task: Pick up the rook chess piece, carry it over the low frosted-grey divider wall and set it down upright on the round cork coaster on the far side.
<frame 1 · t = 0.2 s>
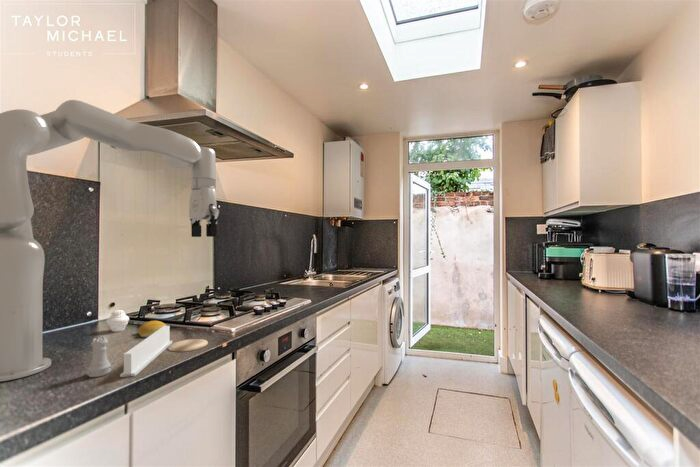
hand: (203, 236, 111), 31 cm above the worktop, tool pointing down, fingers open, 9 cm apart
rook chess piece: (99, 374, 76), on the worktop
cork coaster: (188, 345, 95), on the worktop
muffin: (118, 331, 111), on the worktop
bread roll: (153, 334, 108), on the worktop
divider wall: (149, 357, 86), on the worktop
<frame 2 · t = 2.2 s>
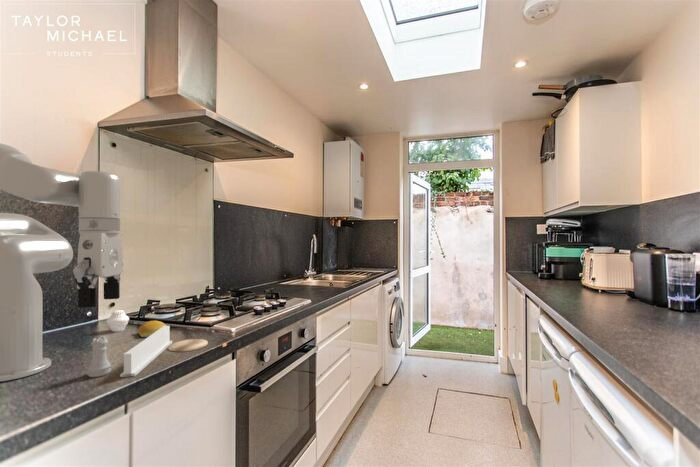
hand: (100, 302, 76), 16 cm above the worktop, tool pointing down, fingers open, 9 cm apart
nothing on the worktop moved.
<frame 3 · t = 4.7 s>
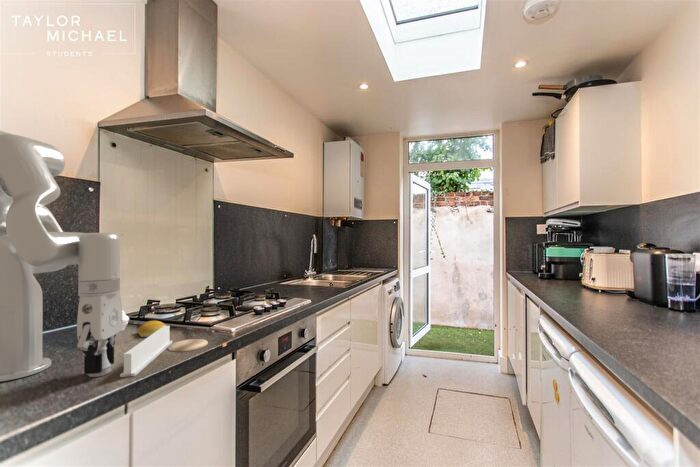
hand: (99, 367, 76), 1 cm above the worktop, tool pointing down, fingers closed on rook chess piece, 4 cm apart
rook chess piece: (99, 374, 76), on the worktop, touching gripper
everything else where it was.
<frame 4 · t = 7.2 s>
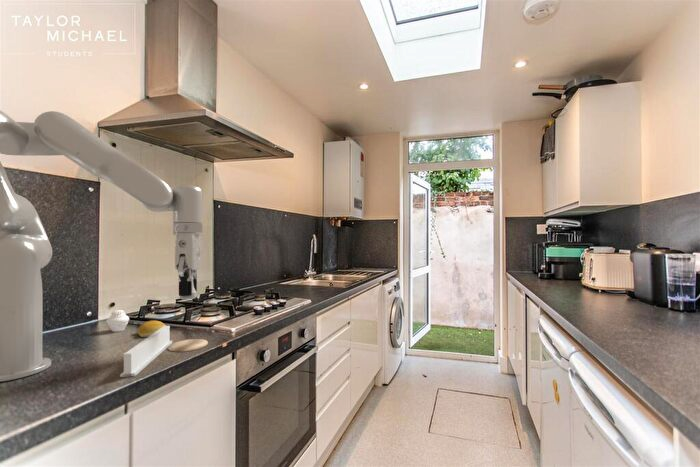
hand: (188, 293, 95), 15 cm above the worktop, tool pointing down, fingers closed on rook chess piece, 4 cm apart
rook chess piece: (188, 298, 95), point 13 cm above the worktop, touching gripper
everything else where it was.
when the fingers open (3 cm above the worktop, at t = 10.0 s): rook chess piece stays where it is, resting on cork coaster.
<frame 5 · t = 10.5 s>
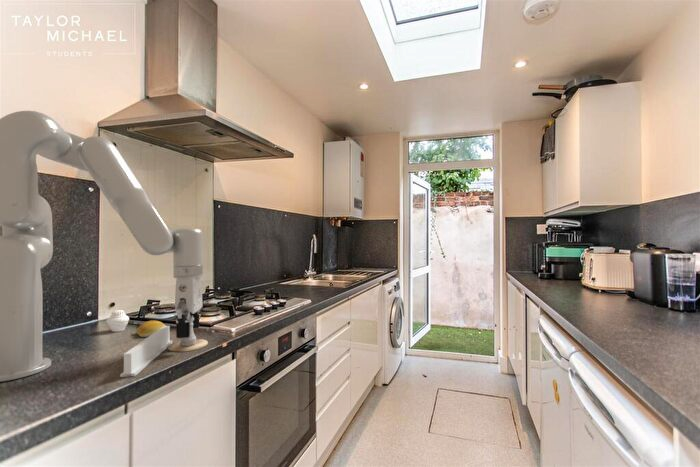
hand: (188, 332, 95), 4 cm above the worktop, tool pointing down, fingers open, 9 cm apart
rook chess piece: (188, 345, 95), resting on cork coaster
everything else where it was.
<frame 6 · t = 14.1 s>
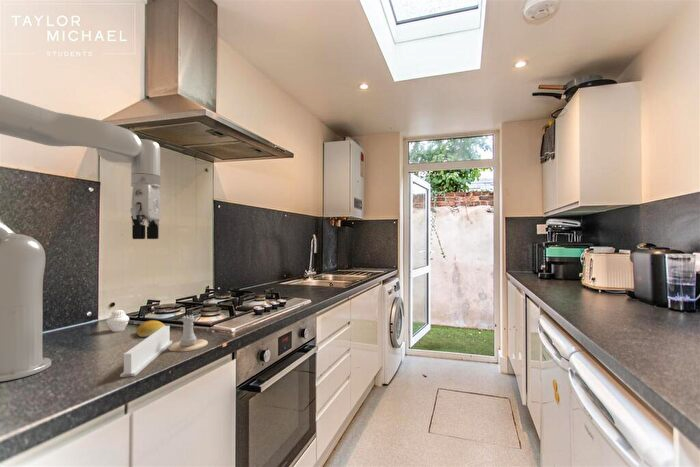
hand: (146, 239, 100), 30 cm above the worktop, tool pointing down, fingers open, 9 cm apart
nothing on the worktop moved.
at the end: rook chess piece 0.1 cm from the cork coaster (horizontally); rook chess piece tilted 0°; rook chess piece resting on cork coaster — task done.
